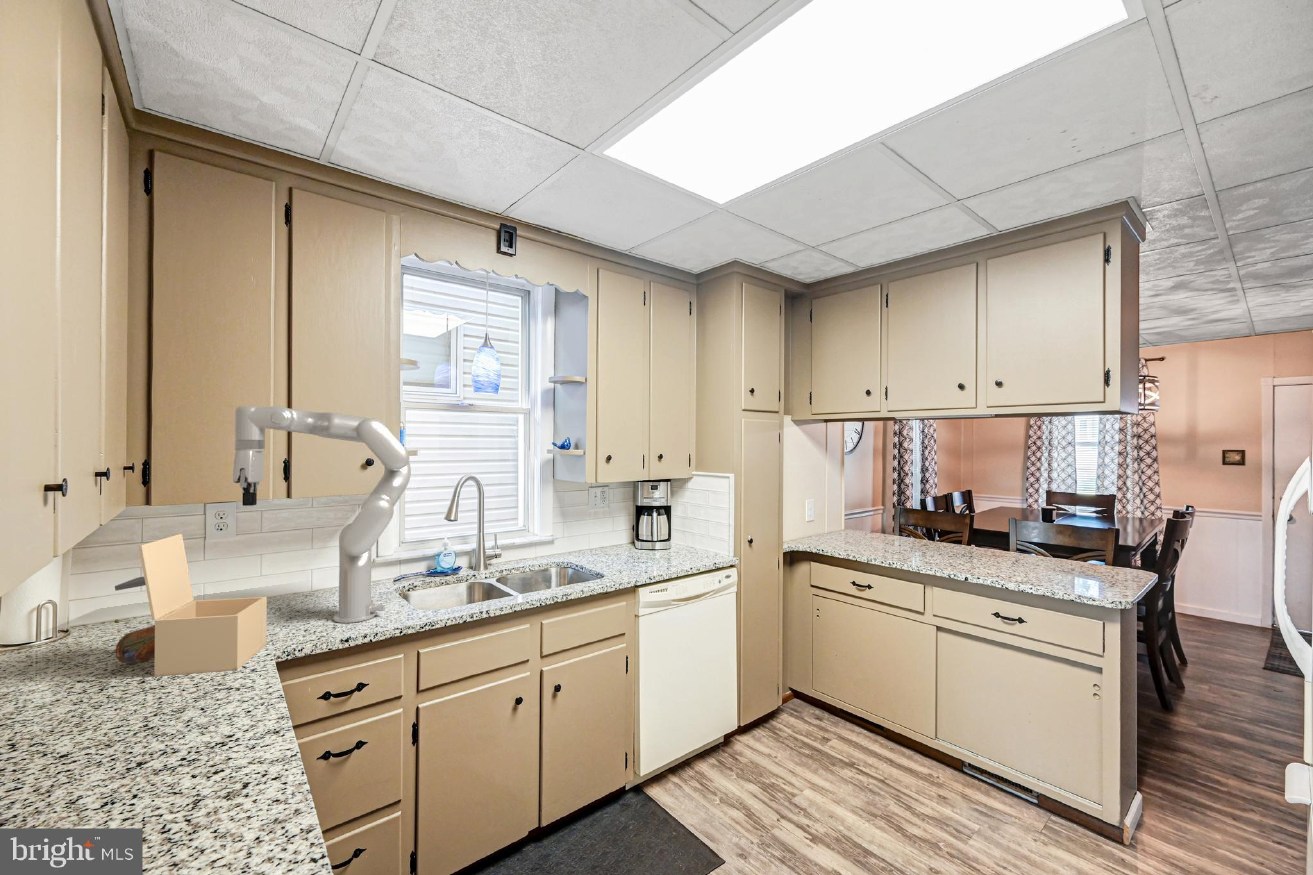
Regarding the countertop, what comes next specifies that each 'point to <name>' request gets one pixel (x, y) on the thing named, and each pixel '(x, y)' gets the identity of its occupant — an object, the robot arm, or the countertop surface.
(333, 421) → the robot arm
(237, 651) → the carton
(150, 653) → the tin
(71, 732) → the countertop surface
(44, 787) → the countertop surface
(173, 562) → the lid
